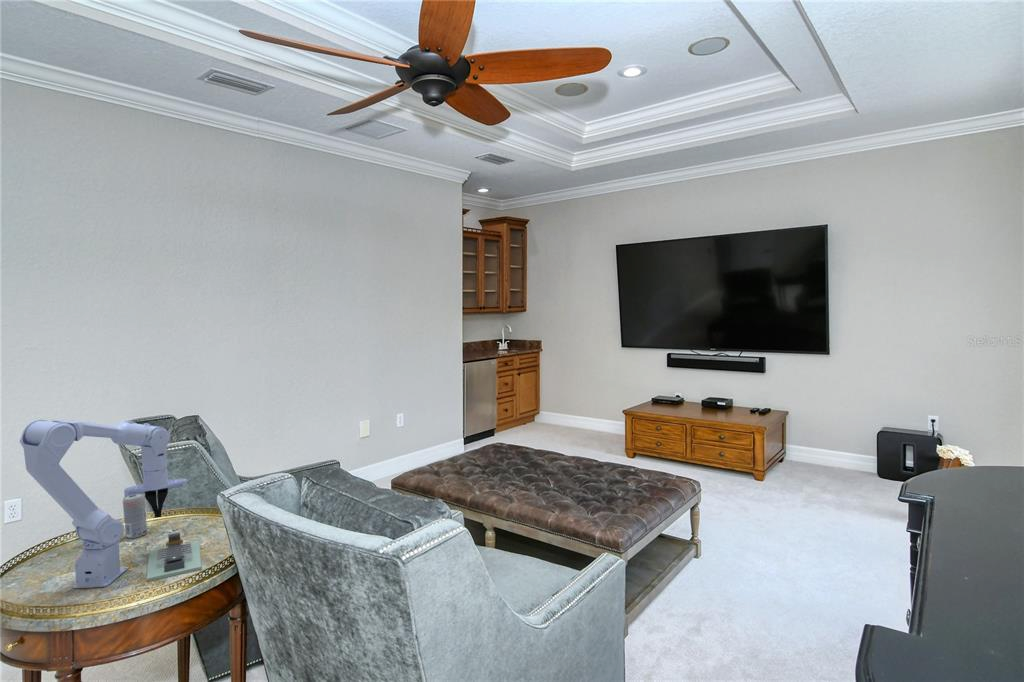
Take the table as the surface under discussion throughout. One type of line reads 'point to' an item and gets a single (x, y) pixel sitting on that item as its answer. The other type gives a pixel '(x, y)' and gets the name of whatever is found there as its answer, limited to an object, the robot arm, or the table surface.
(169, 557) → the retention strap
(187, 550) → the heat sink
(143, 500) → the energy drink
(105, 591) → the table surface
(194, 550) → the socket board
